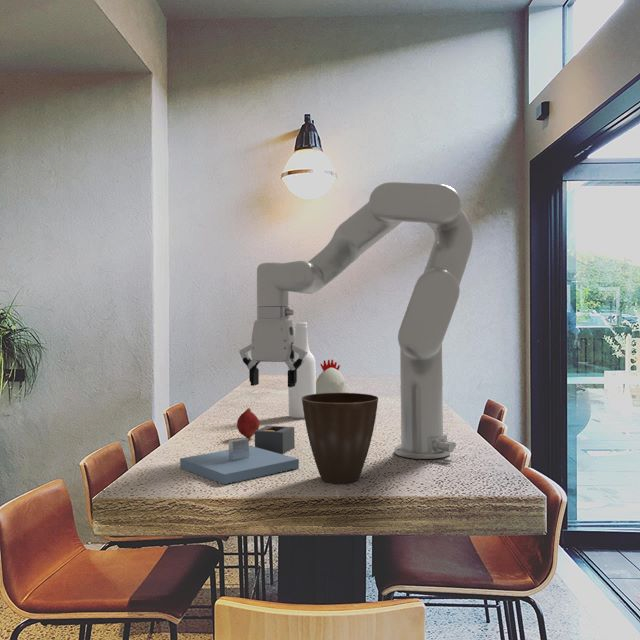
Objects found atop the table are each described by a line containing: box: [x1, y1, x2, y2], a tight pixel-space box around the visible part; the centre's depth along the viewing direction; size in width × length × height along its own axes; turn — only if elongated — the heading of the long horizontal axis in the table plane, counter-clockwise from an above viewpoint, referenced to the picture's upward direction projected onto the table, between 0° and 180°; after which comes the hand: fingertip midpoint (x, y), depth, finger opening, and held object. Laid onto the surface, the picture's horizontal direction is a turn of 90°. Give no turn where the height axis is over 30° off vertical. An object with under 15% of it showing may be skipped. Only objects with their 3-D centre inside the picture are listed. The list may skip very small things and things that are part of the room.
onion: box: [236, 407, 260, 439], centre depth 159 cm, size 6×6×8 cm
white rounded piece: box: [316, 359, 350, 394], centre depth 237 cm, size 14×14×15 cm
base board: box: [179, 445, 300, 485], centre depth 128 cm, size 18×18×2 cm
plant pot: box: [302, 392, 379, 484], centre depth 119 cm, size 15×15×16 cm
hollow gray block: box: [254, 425, 296, 455], centre depth 145 cm, size 7×7×5 cm
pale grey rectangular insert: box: [228, 437, 250, 461], centre depth 128 cm, size 2×4×4 cm, turn 130°
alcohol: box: [287, 321, 317, 420], centre depth 193 cm, size 9×9×30 cm
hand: (272, 385), depth 145 cm, fingers open, 9 cm apart
